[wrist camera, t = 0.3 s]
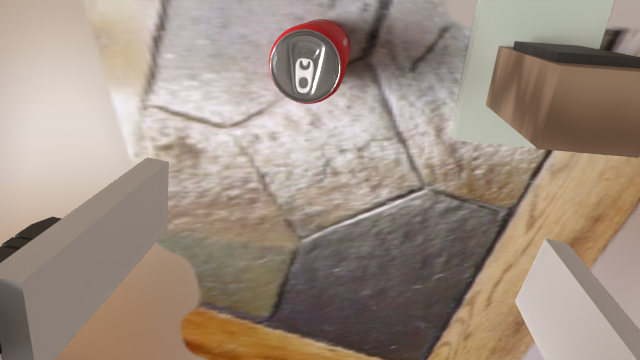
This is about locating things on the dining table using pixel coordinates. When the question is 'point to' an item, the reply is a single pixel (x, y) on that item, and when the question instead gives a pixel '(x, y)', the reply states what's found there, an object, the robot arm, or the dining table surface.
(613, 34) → the dining table surface
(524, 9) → the pale green holder tray
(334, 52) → the beverage can
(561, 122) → the brown tall rectangular block
